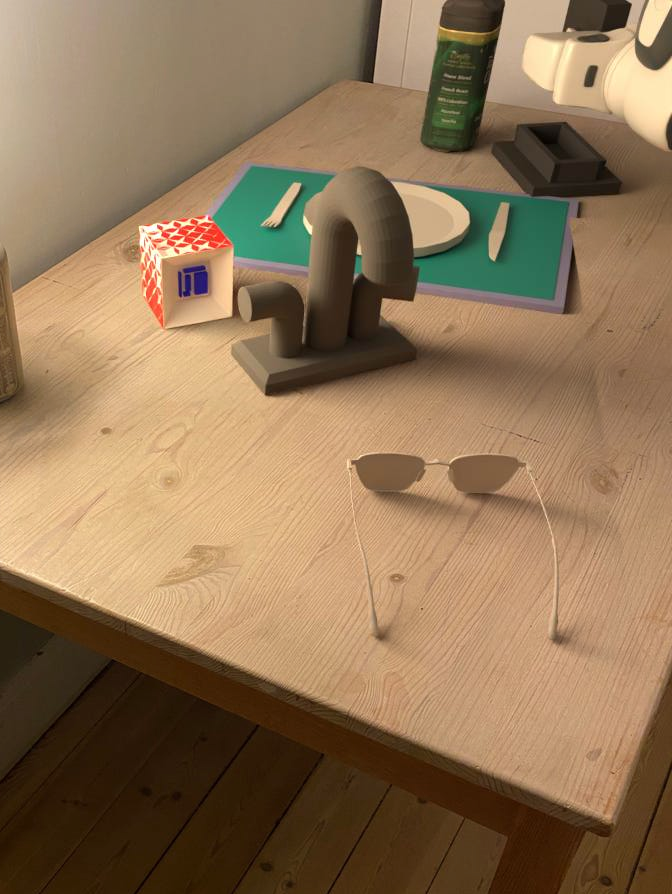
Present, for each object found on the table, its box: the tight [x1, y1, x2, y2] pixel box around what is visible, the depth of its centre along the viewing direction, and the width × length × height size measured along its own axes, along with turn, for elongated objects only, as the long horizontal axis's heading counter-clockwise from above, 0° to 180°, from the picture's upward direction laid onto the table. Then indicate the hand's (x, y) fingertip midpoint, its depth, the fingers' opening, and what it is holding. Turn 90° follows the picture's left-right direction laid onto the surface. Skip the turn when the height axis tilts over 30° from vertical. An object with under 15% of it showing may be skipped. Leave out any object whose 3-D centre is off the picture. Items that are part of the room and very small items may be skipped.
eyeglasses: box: [346, 451, 560, 641], centre depth 75 cm, size 15×18×4 cm
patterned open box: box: [138, 215, 234, 330], centre depth 102 cm, size 8×8×8 cm
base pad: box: [490, 121, 623, 198], centre depth 128 cm, size 16×12×4 cm
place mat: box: [203, 161, 580, 315], centre depth 117 cm, size 45×30×2 cm
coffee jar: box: [419, 0, 506, 153], centre depth 130 cm, size 10×8×19 cm
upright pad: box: [561, 0, 633, 32], centre depth 115 cm, size 10×3×10 cm, turn 7°
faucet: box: [230, 166, 420, 396], centre depth 88 cm, size 18×16×20 cm
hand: (587, 34), depth 116 cm, fingers closed on upright pad, 3 cm apart
